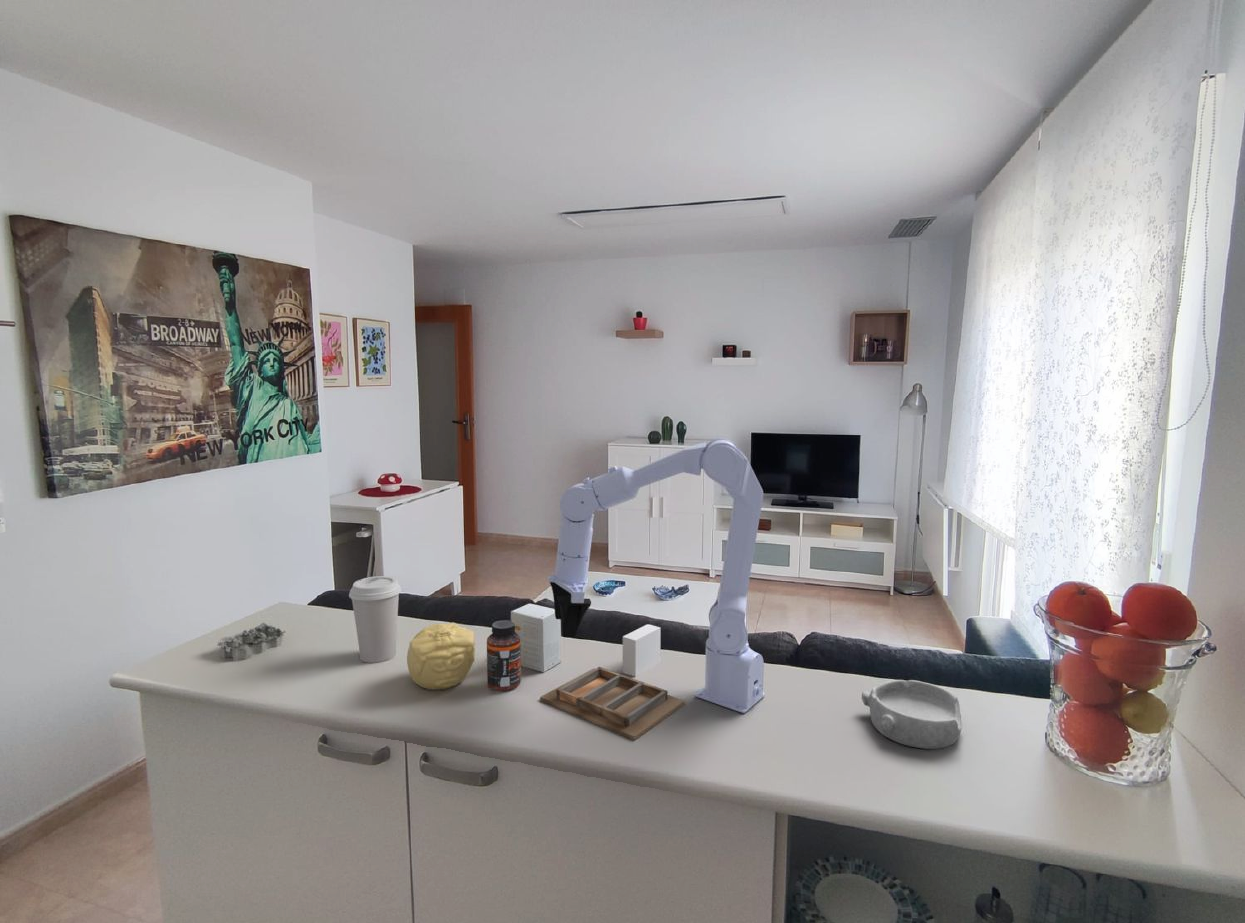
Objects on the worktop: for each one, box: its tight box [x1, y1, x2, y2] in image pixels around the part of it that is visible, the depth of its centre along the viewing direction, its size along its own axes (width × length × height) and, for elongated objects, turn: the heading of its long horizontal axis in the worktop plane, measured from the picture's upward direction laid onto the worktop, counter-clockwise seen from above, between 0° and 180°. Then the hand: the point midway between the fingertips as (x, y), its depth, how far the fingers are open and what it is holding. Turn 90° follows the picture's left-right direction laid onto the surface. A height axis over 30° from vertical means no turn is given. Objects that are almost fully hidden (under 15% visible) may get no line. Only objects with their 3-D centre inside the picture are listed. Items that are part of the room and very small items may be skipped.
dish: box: [861, 679, 963, 750], centre depth 99 cm, size 14×14×5 cm
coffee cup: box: [348, 575, 402, 664], centre depth 124 cm, size 10×10×15 cm
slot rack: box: [539, 666, 685, 741], centre depth 106 cm, size 20×14×2 cm
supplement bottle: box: [486, 620, 522, 692], centre depth 112 cm, size 6×6×11 cm
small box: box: [510, 603, 563, 673], centre depth 121 cm, size 8×6×10 cm
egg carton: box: [216, 622, 287, 662], centre depth 128 cm, size 11×8×4 cm
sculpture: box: [406, 622, 476, 691], centre depth 113 cm, size 12×12×11 cm
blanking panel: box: [622, 624, 661, 678], centre depth 120 cm, size 3×8×7 cm, turn 142°
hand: (564, 627), depth 111 cm, fingers open, 7 cm apart
